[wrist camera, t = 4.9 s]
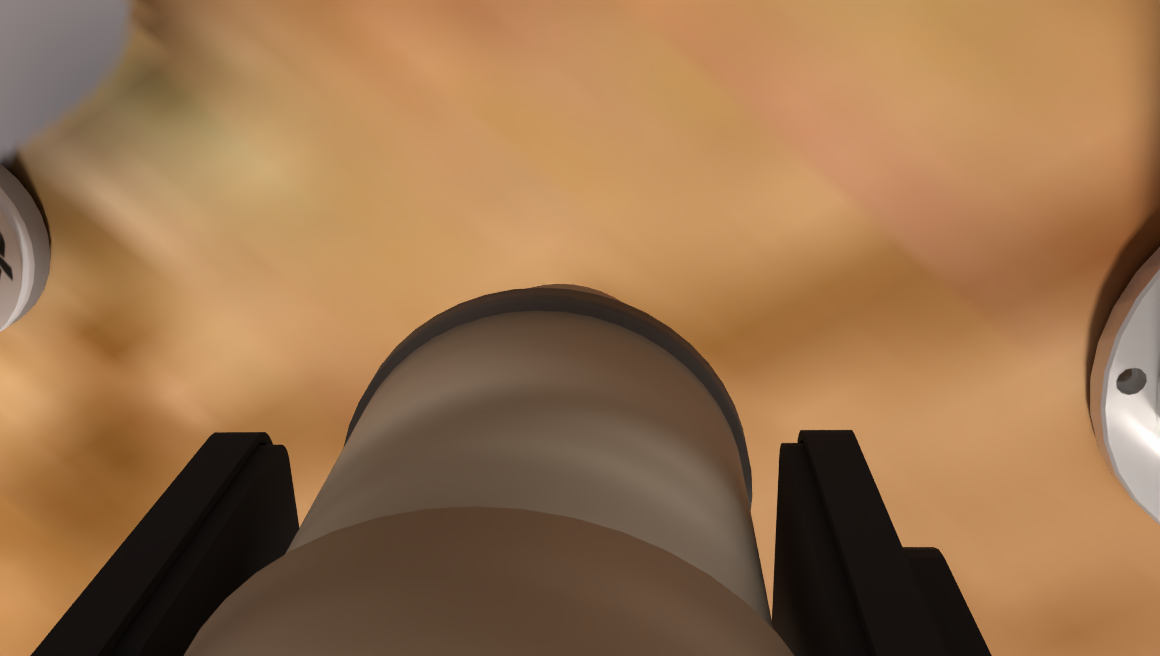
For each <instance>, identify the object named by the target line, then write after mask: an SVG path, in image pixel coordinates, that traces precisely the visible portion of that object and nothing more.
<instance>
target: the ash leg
mask: <svg viewBox="0 0 1160 656" xmlns="http://www.w3.org/2000/svg"><path fill="white" fill-rule="evenodd" d="M751 502H752V476H751V467H750V462H749V457H748V452H747V447H746V442H745V437H744V432H743V428H742V425H741V422H740V419H739V417H738V414H737V411H736V408H735V405H734V403H733V401H732V400H731V398H730V396H729V394H728V392H727V390H726V388H725V386H724V384H723V383H722V381H721V380H720V378H719V377H718V376H717V374H716V373H715V372H714V370H713V369H712V367H711V366H710V365H709V363H708V362H707V361H706V360H705V359H704V358H703V357H702V356H701V355H700V354H699V353H698V352H697V350H696V349H695V348H694V347H693V346H692V345H691V344H690V343H688V342H687V341H686V340H685V339H684V338H682V337H681V336H680V335H679V334H677V333H676V332H675V331H674V330H672V329H671V328H670V327H668V326H667V325H665V324H663V323H662V322H660V321H658V320H657V319H655V318H654V317H652V316H650V315H649V314H647V313H645V312H643V311H641V310H638V309H636V308H634V307H632V306H629V305H627V304H625V303H623V302H621V301H619V300H618V299H616V298H614V297H612V296H610V295H608V294H605V293H603V292H601V291H598V290H595V289H591V288H588V287H583V286H577V285H568V284H552V285H542V286H537V287H532V288H527V289H513V290H508V291H503V292H498V293H493V294H488V295H484V296H481V297H478V298H475V299H472V300H469V301H466V302H463V303H460V304H458V305H456V306H454V307H452V308H450V309H448V310H446V311H444V312H442V313H440V314H438V315H436V316H435V317H433V318H432V319H430V320H429V321H427V322H426V323H424V324H423V325H421V326H420V327H418V328H417V329H415V330H414V331H413V332H412V333H411V334H410V335H409V336H408V337H407V338H405V339H404V340H403V341H402V342H401V343H400V344H399V345H398V346H397V347H396V348H395V349H394V350H393V351H392V353H391V354H390V355H389V356H388V357H387V359H386V360H385V361H384V362H383V363H382V365H381V366H380V368H379V369H378V371H377V373H376V374H375V376H374V378H373V379H372V381H371V382H370V384H369V386H368V388H367V389H366V391H365V393H364V395H363V396H362V398H361V400H360V402H359V403H358V406H357V408H356V410H355V413H354V415H353V418H352V420H351V422H350V425H349V428H348V432H347V436H346V440H345V444H344V448H343V450H342V452H341V454H340V455H339V457H338V459H337V461H336V463H335V465H334V466H333V468H332V470H331V472H330V474H329V475H328V477H327V479H326V481H325V483H324V485H323V486H322V488H321V490H320V492H319V494H318V495H317V497H316V499H315V501H314V503H313V505H312V506H311V508H310V510H309V512H308V514H307V515H306V517H305V519H304V521H303V523H302V525H301V526H300V528H299V530H298V532H297V534H296V535H295V537H294V539H293V541H292V543H291V544H290V546H289V548H288V550H287V552H286V554H285V555H283V556H282V557H280V558H279V559H277V560H275V561H274V562H272V563H271V564H269V565H268V566H266V567H264V568H263V569H261V570H260V571H258V572H257V573H255V574H254V575H253V576H252V577H251V578H249V579H248V580H247V581H246V582H245V583H244V584H242V585H241V586H240V587H239V588H238V589H237V590H235V591H234V592H233V593H232V594H231V595H230V596H229V597H227V598H226V599H225V600H224V601H223V603H222V604H221V605H220V606H219V607H218V608H217V610H216V611H215V612H214V613H213V614H212V615H211V617H210V618H209V619H208V620H207V621H206V623H205V624H204V625H203V626H202V627H201V628H200V630H199V631H198V633H197V635H196V636H195V638H194V640H193V641H192V643H191V645H190V646H189V648H188V649H187V651H186V653H185V654H184V656H794V654H793V653H792V652H791V650H790V649H789V648H788V646H787V645H786V644H785V643H784V641H783V640H782V639H781V637H780V636H779V635H778V633H777V632H776V631H775V630H774V629H773V625H772V620H771V615H770V610H769V605H768V600H767V594H766V589H765V584H764V579H763V574H762V569H761V563H760V558H759V553H758V548H757V543H756V538H755V532H754V527H753V522H752V517H751V512H750V511H751Z"/></svg>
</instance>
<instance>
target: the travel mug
mask: <svg viewBox="0 0 1160 656" xmlns="http://www.w3.org/2000/svg"><path fill="white" fill-rule="evenodd" d="M50 255H51V254H50V246H49V239H48V233H47V230H46V227H45V224H44V221H43V218H42V215H41V213H40V212H39V210H38V208H37V206H36V204H35V202H34V201H33V199H32V197H31V195H30V194H29V193H28V192H27V190H26V189H25V188H24V187H23V185H22V184H21V183H20V181H19V180H18V179H17V178H16V177H15V176H14V175H13V174H11V173H10V172H9V171H8V170H7V169H6V168H5V167H4V166H3V165H2V164H1V163H0V332H1V331H2V330H4V329H5V328H7V327H8V326H10V325H11V324H13V323H14V322H16V321H17V320H19V319H20V318H22V317H23V316H24V315H25V314H26V313H27V312H28V311H29V310H30V309H31V308H32V307H33V306H34V305H35V304H36V302H37V301H38V299H39V297H40V295H41V294H42V292H43V290H44V288H45V285H46V281H47V278H48V275H49V269H50Z"/></svg>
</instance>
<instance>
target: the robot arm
mask: <svg viewBox="0 0 1160 656" xmlns="http://www.w3.org/2000/svg"><path fill="white" fill-rule="evenodd" d="M1123 371H1124V372H1123ZM1122 372H1123V373H1122ZM1121 373H1122V374H1121ZM1090 415H1091V419H1092V423H1093V428H1094V432H1095V437H1096V441H1097V445H1098V447H1099V449H1100V451H1101V453H1102V455H1103V457H1104V459H1105V461H1106V463H1107V466H1108V468H1109V470H1110V472H1111V474H1112V475H1113V476H1114V477H1115V478H1116V480H1117V481H1118V482H1119V483H1120V485H1121V486H1122V487H1123V488H1124V490H1125V491H1126V492H1127V493H1128V495H1129V496H1130V497H1131V498H1132V500H1133V501H1134V502H1136V503H1137V504H1138V505H1139V506H1140V507H1141V508H1142V509H1143V510H1144V511H1145V512H1146V513H1147V514H1148V515H1149V516H1150V517H1151V518H1152V519H1153V520H1154V521H1156V522H1157V523H1158V524H1160V247H1159V248H1158V249H1157V250H1156V251H1155V252H1154V253H1153V254H1152V256H1151V257H1150V258H1149V259H1148V260H1147V261H1146V262H1145V263H1144V264H1143V265H1142V266H1141V267H1140V268H1139V270H1138V271H1137V272H1136V273H1135V275H1134V276H1133V278H1132V279H1131V281H1130V282H1129V284H1128V285H1127V287H1126V288H1125V290H1124V291H1123V293H1122V294H1121V296H1120V298H1119V299H1118V301H1117V302H1116V304H1115V305H1114V307H1113V309H1112V311H1111V314H1110V316H1109V318H1108V321H1107V323H1106V325H1105V328H1104V330H1103V332H1102V335H1101V337H1100V339H1099V342H1098V345H1097V350H1096V354H1095V359H1094V364H1093V368H1092V373H1091V377H1090ZM298 530H299V523H298V516H297V509H296V502H295V495H294V489H293V482H292V475H291V468H290V461H289V456H288V452H287V450H286V448H285V447H284V446H283V445H273V443H272V441H271V439H270V437H269V435H268V434H267V433H266V432H228V433H214V434H212V435H211V436H210V437H209V438H208V439H207V441H206V442H205V443H204V444H203V446H202V447H201V448H200V449H199V450H198V452H197V453H196V454H195V455H194V457H193V458H192V459H191V460H190V461H189V463H188V464H187V465H186V466H185V468H184V469H183V470H182V471H181V472H180V474H179V475H178V476H177V477H176V479H175V480H174V481H173V482H172V483H171V485H170V486H169V487H168V488H167V490H166V491H165V492H164V493H163V494H162V496H161V497H160V498H159V499H158V501H157V502H156V503H155V504H154V505H153V507H152V508H151V509H150V510H149V512H148V513H147V514H146V515H145V516H144V518H143V519H142V520H141V521H140V523H139V524H138V525H137V526H136V527H135V529H134V530H133V531H132V532H131V534H130V535H129V536H128V537H127V538H126V540H125V541H124V542H123V543H122V545H121V546H120V547H119V548H118V549H117V551H116V552H115V553H114V554H113V556H112V557H111V558H110V559H109V560H108V562H107V563H106V564H105V565H104V567H103V568H102V569H101V570H100V571H99V573H98V574H97V575H96V576H95V578H94V579H93V580H92V581H91V582H90V584H89V585H88V586H87V587H86V589H85V590H84V591H83V592H82V593H81V595H80V596H79V597H78V598H77V600H76V601H75V602H74V603H73V604H72V606H71V607H70V608H69V609H68V611H67V612H66V613H65V614H64V615H63V617H62V618H61V619H60V620H59V622H58V623H57V624H56V625H55V626H54V628H53V629H52V630H51V631H50V633H49V634H48V635H47V636H46V637H45V639H44V640H43V641H42V642H41V644H40V645H39V646H38V647H37V648H36V650H35V651H34V652H33V653H32V655H31V656H184V654H185V653H186V651H187V649H188V648H189V646H190V645H191V643H192V641H193V640H194V638H195V636H196V635H197V633H198V631H199V630H200V628H201V627H202V626H203V625H204V624H205V623H206V621H207V620H208V619H209V618H210V617H211V615H212V614H213V613H214V612H215V611H216V610H217V608H218V607H219V606H220V605H221V604H222V603H223V601H224V600H225V599H226V598H227V597H229V596H230V595H231V594H232V593H233V592H234V591H235V590H237V589H238V588H239V587H240V586H241V585H242V584H244V583H245V582H246V581H247V580H248V579H249V578H251V577H252V576H253V575H254V574H255V573H257V572H258V571H260V570H261V569H263V568H264V567H266V566H268V565H269V564H271V563H272V562H274V561H275V560H277V559H279V558H280V557H282V556H283V555H285V554H286V552H287V550H288V548H289V546H290V544H291V543H292V541H293V539H294V537H295V535H296V534H297V532H298ZM772 625H773V629H774V630H775V631H776V632H777V633H778V635H779V636H780V637H781V639H782V640H783V641H784V643H785V644H786V645H787V646H788V648H789V649H790V650H791V652H792V653H793V654H794V656H991V653H990V651H989V649H988V647H987V645H986V643H985V641H984V639H983V637H982V635H981V633H980V631H979V629H978V627H977V624H976V622H975V620H974V618H973V616H972V614H971V612H970V610H969V608H968V606H967V604H966V602H965V600H964V598H963V595H962V593H961V591H960V589H959V587H958V585H957V583H956V581H955V579H954V577H953V575H952V573H951V571H950V569H949V566H948V564H947V562H946V560H945V558H944V557H943V555H942V554H941V552H940V551H939V549H936V548H934V547H902V545H901V543H900V540H899V538H898V536H897V533H896V531H895V529H894V526H893V524H892V521H891V519H890V517H889V514H888V512H887V510H886V507H885V505H884V503H883V500H882V498H881V496H880V493H879V491H878V488H877V486H876V484H875V481H874V479H873V477H872V474H871V472H870V470H869V467H868V465H867V463H866V460H865V458H864V455H863V453H862V451H861V448H860V446H859V444H858V441H857V439H856V437H855V434H854V433H853V431H852V430H800V433H799V436H798V443H782V444H781V447H780V455H779V476H778V498H777V520H776V542H775V564H774V586H773V608H772Z"/></svg>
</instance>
